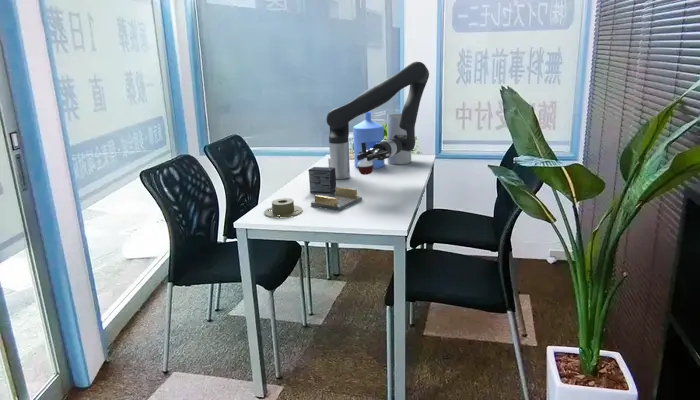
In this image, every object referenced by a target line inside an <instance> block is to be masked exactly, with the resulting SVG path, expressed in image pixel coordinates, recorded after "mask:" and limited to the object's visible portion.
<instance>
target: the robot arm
mask: <svg viewBox="0 0 700 400" xmlns="http://www.w3.org/2000/svg"><path fill="white" fill-rule="evenodd" d="M429 77H430V71H429V69H428V68H427V66H426V64H425V63H423V62H421V61H414V62H411V63H410V64H408V65H407V66H405V67H404V68H403V69H401V70H399V71H398V72H397V73H395V74H394V75H392V76H390V77H388V78H386V79H384V80H382V81H380V82H379V83H377V84H375V85H373V86H371V87H370V88H368V89H366V90H365V91H363V92H362V93H360V94H359V95H358V96H357V97H355V98H354V99H352V100H351V101H350V102H347V103H346V104H343V105H341V106H338V107H334V108H332V109H331V110H330V111H328V113H327V115H326V123H327V126H329V134H328V135H329V136H328V145H329V146H328V147H329V157H328V158H327V159H328V160H327V161H328V162H327V163H328V167H332V168H335V173H336V180H345V179H349V178H350V177H351V173H350V172H351V171H350V150H349V149H350V148H349V147H350V146H349V145H350V144H349V133H350V130H349V129H350V126H349V123H350V122H351V121H353V120H354V119H356V118H357V117H359V116H361V115H365V113H366V112H371V111H373V110H375V109H377V108H378V107H381V106H382V105H384V104H385V103H387V102H389V101H390V100H391V99H393V98H394V96H395V95H396V94H397V93H398V92H400V91H401V90H402V89H405V88H407V87H409V89H408V95H407V98H406V100H405V102H404V106H403V108H402V111H401V113H400V114H401V119H400V124H399V127H400V128H401V129H403V130H406V132H407V135H401V134H396V135H394V136H393V137H392V138H391V139H389V140H387V139H386V140H382V141H381V142H379V143H376V144H375V145H374V146H373V147H372V148H371V149H369V150H366V152H362V150H360V151H359V154H358V155H357V159H358V160H361V159H364V157H365V155H364V154H365V153H367V161H370V160H376V159H377V160H384V161H385V160H386V159H387V160H388V158H389V157H391V156H393V155H395V154H397V153H399V152H400V151H401V150H402V151H411V152H412V151H413V150H414V149H415V146H416V131H415V130H416V129H415V128H416V123H417V120H418V119H417V118H418V115H419V114H418V112H419V109H420V104H421V100H422V96H423V93H424V90H425V87H426V86H427V83H428V80H429Z"/></svg>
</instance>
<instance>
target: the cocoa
mask: <svg viewBox="0 0 700 400" xmlns="http://www.w3.org/2000/svg"><path fill="white" fill-rule="evenodd" d="M361 144H362V152H366V143H365V142H362V143H361ZM364 155H365V157H364V159H362V160H361V161H360V162H358V164H357V165H358V168H357V169H358V172H359V174H361V175H364V176H365V175H366V176H367V175H371V174H372V172H373V170H374V169H373V162H372V160H370V161H367V153H365V154H364Z"/></svg>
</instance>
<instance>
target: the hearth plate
mask: <svg viewBox="0 0 700 400" xmlns="http://www.w3.org/2000/svg"><path fill="white" fill-rule="evenodd" d="M361 200H362V201H363V197H362V196H358V189H356V188H351V187H344V186H336V187H335V191H334V192H333V193H332V194H328V195H320V194H315V195H314V200H313V201H310V206H311V207H313V206H315V207H314V208H319V207H321V208H320V209H325V208H327V210H331V209H334V210H333V211H336V210H340V211H342V210H344V209H347V208H349V207H350V206H353V205H356V204H358V203H360V202H361ZM348 206H349V207H348ZM346 207H347V208H346Z"/></svg>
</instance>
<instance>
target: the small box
mask: <svg viewBox="0 0 700 400" xmlns="http://www.w3.org/2000/svg"><path fill="white" fill-rule="evenodd" d="M308 176H309V178H308V180H309V182H308V183H309V193H311V194H312V193H313V194H328V195H330V194H332V193H335V192H336V191H335V187H337V179H336V173H335V168H332V167H329V166H328V167H327V166H313V167H311V168H309V169H308Z"/></svg>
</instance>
